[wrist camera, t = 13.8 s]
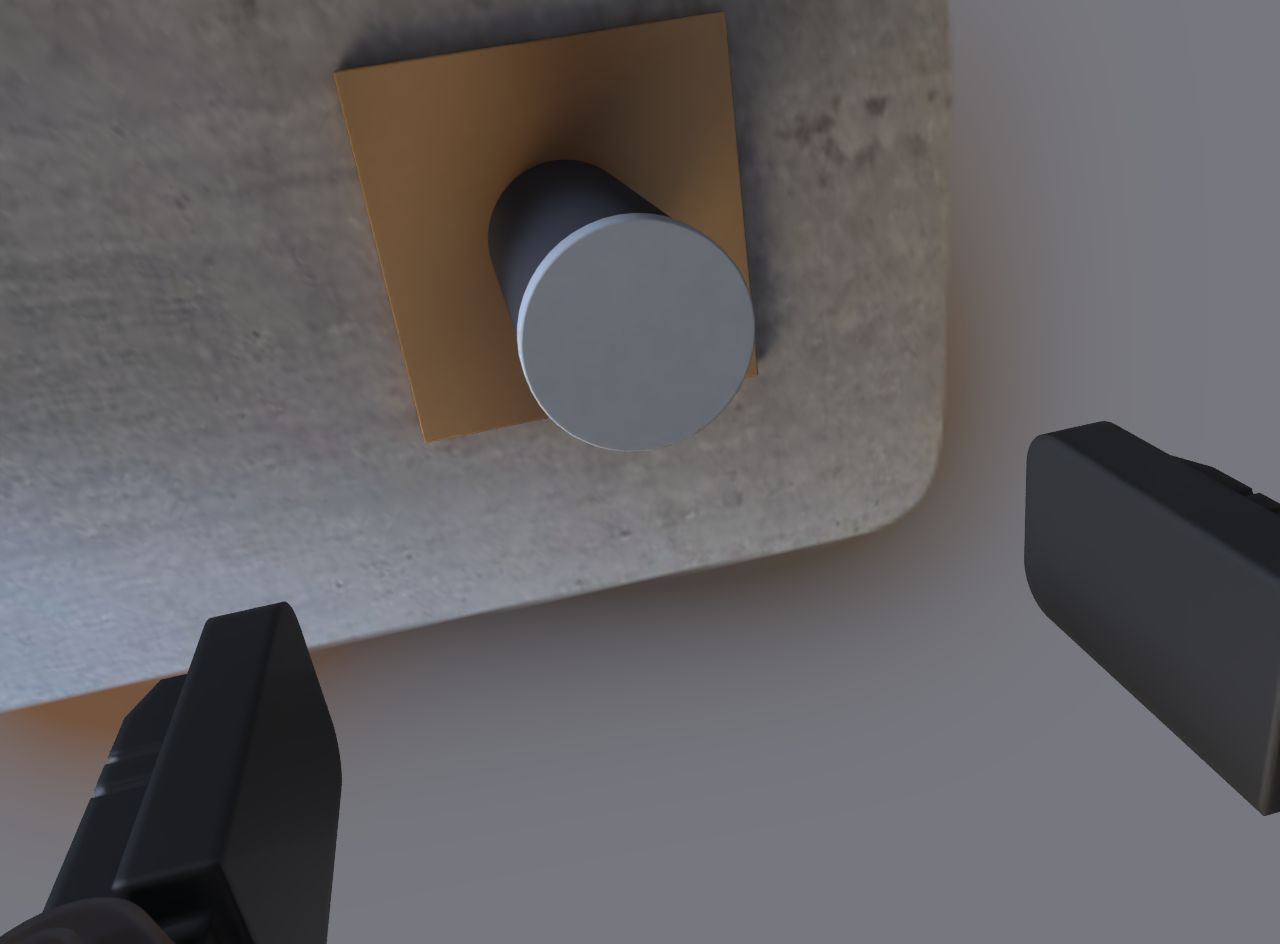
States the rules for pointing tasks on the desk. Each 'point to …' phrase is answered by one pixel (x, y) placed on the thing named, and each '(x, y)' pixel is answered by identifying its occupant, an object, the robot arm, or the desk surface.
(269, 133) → the desk surface
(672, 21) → the pad
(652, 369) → the roller
